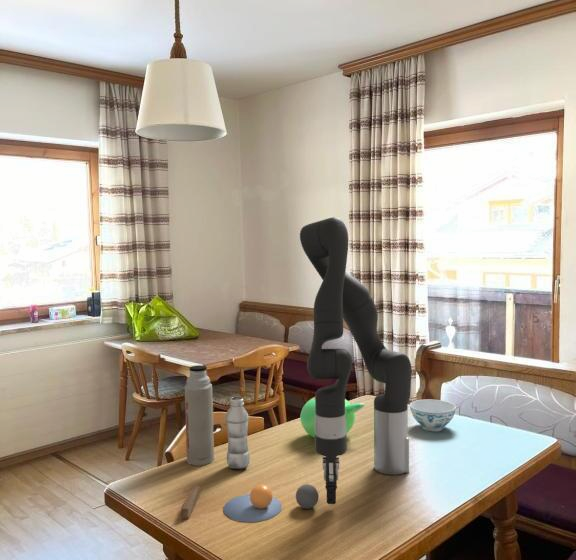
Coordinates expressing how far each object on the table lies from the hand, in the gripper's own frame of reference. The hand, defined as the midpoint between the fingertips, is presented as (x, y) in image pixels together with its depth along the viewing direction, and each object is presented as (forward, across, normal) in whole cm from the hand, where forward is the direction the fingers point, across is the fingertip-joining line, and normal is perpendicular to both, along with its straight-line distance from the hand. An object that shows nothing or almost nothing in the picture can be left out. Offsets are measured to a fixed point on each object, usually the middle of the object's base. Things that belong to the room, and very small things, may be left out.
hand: (331, 502), depth 136 cm
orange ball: (-1, 0, +17) cm, 17 cm away
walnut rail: (+2, 0, +34) cm, 34 cm away
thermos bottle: (+2, +29, +38) cm, 48 cm away
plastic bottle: (+2, +24, +26) cm, 35 cm away
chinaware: (+2, +58, -35) cm, 68 cm away
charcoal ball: (-1, 0, +6) cm, 6 cm away
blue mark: (+2, 0, +19) cm, 19 cm away
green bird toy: (+2, +48, 0) cm, 48 cm away
